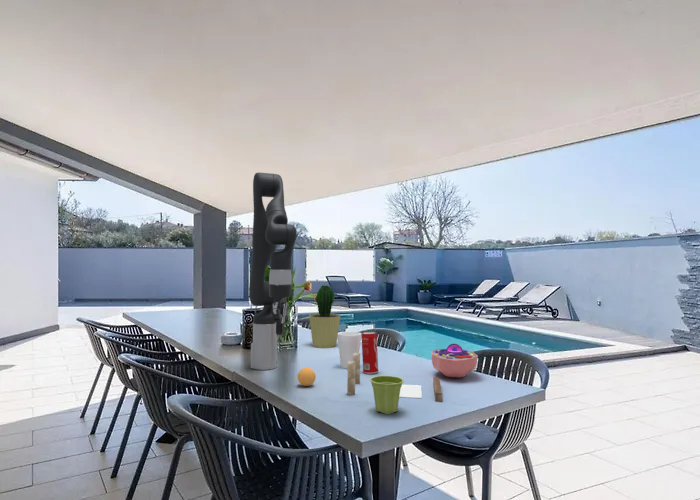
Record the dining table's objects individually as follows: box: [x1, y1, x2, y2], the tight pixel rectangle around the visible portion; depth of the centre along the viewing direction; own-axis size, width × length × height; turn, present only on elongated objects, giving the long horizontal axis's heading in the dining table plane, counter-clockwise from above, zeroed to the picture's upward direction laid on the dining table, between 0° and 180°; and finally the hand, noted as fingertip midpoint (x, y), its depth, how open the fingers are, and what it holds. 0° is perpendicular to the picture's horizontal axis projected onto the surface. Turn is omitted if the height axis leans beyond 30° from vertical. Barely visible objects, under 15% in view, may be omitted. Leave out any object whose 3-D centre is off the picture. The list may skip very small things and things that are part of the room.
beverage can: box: [361, 331, 379, 375], centre depth 173 cm, size 6×6×15 cm
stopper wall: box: [432, 377, 443, 402], centre depth 147 cm, size 2×18×2 cm, turn 172°
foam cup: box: [337, 331, 362, 369], centre depth 182 cm, size 10×9×13 cm
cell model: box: [430, 343, 479, 379], centre depth 169 cm, size 17×20×11 cm
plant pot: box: [369, 375, 404, 414], centre depth 130 cm, size 9×9×9 cm
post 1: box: [346, 361, 356, 396], centre depth 145 cm, size 2×2×10 cm
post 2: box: [353, 352, 361, 385], centre depth 158 cm, size 2×2×10 cm
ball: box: [297, 367, 317, 387], centre depth 154 cm, size 6×6×6 cm
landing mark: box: [399, 383, 423, 399], centre depth 149 cm, size 14×14×1 cm
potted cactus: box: [308, 284, 341, 349], centre depth 224 cm, size 15×15×30 cm
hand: (279, 334), depth 155 cm, fingers closed
